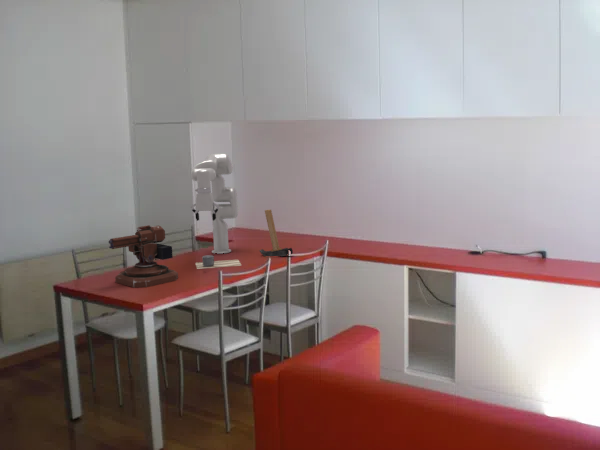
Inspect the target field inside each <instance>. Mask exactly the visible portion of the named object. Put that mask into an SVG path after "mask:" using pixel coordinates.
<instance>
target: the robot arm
mask: <svg viewBox="0 0 600 450" xmlns="http://www.w3.org/2000/svg"><path fill="white" fill-rule="evenodd" d="M233 169H234V166H233V163H232V161H231V158H230V156H229V155H228V154H227V153H210V154H208V155H207V156H206V158H205V160H204V161H202V162H200V163H197V164H195V165H194V166H193V167H192V170H191V173H190V177H191V179H192V180H193V182H197V184H196V185H197V187H196V188H195V190H194V191H195V192H197V193H196V196H195V203H194V204H192V205H191V206H190V209H191V211H192V212H193V213H194V214H195V220H196V221H200V213H199V212H209V211H210V215H211V221H212V232H213V233H212V234H213V235H212V236H213V237H212V238H213V250H211V253H212V254H215V253H217V255H218V254H219V255H220V254H221V255H222V254H223V253H224V254H228V253H231V252H232V249H230V247H229V230H228V228H229V227H228V223H227V222H226V220H225V219H227V220H228V219H236V218H237V217H238V214H239V211H238V210H239V209H238V192H237V189H236V188H235V187H233V186H230V187H229V186H227V187H226V186H225V185H226V183H225V181H226V180H225V178H224V177H223V175H224V176H225V175H231V174H232V173H233ZM217 203H218V204H217ZM219 203H221V204H219Z"/></svg>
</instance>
